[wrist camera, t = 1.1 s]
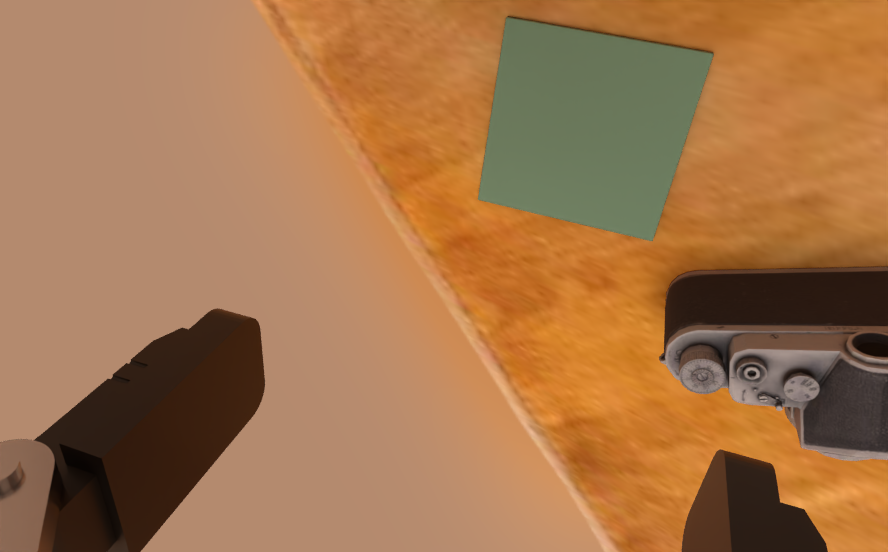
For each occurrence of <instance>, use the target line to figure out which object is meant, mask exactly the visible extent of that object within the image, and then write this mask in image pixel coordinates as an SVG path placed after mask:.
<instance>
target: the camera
mask: <svg viewBox="0 0 888 552" xmlns="http://www.w3.org/2000/svg"><path fill="white" fill-rule="evenodd" d="M659 360H660V362H661V363H663V364H665V365H667V368H668V369H669V370H670V372H671V373H672V374H673V376H674V377H675V378H676V379H678V380H680V381H681V383H682V385H683V386H684V387H685V388H687V389H688V390H690V391H692V392H695V393H699V394H709V393H713V392H715V391H717V390H719V389H720V388H729V392H730V394H731V396H732V398H733V400H734V401H736V402H738V403H744V404H749V405H763V406H775V407H776V409H777V410H778V411H781V410H782V409H783V408H782V407H785V413H786V415H787V418H788V419H789V421H790V422H791V423H792V424H793V426H794V427H795V428H796V429H797V433H798V437H799V441H800V445H801V448H803V449H808V450H815V451H817V452H819V453H821V454H823V455H825V456H829V457H832V458H836V459H840V460H849V461H859V460H866V459H885V460H888V267H848V268H798V269H749V270H700V271H691V272H687V273H684V274H682V275H680V276H678V277H677V278H676V279H675V280H674V281H672V282H671V284H670V287H669V289H668V291H667V293H666V306H665V336H664V353H663V354H662V355H661V356H660V357H659Z"/></svg>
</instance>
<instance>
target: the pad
mask: <svg viewBox="0 0 888 552" xmlns="http://www.w3.org/2000/svg"><path fill="white" fill-rule="evenodd" d="M713 55H714V53H712V52H707V51H701V50H695V49H690V48H684V47H678V46H673V45H667V44H662V43H656V42H650V41H645V40H639V39H633V38H628V37H622V36H616V35H611V34H605V33H599V32H594V31H588V30H582V29H577V28H571V27H565V26H560V25H554V24H548V23H543V22H537V21H531V20H526V19H520V18H514V17H509V16H508V17H506V23H505V29H504V35H503V42H502V48H501V55H500V61H499V68H498V74H497V80H496V87H495V93H494V100H493V106H492V112H491V119H490V125H489V132H488V138H487V144H486V151H485V157H484V164H483V170H482V177H481V183H480V189H479V196H478V200H481V201H485V202H490V203H494V204H498V205H502V206H506V207H511V208H515V209H519V210H523V211H527V212H532V213H536V214H540V215H544V216H548V217H553V218H557V219H561V220H565V221H569V222H574V223H578V224H582V225H586V226H590V227H595V228H599V229H603V230H607V231H611V232H616V233H620V234H624V235H628V236H632V237H637V238H641V239H645V240H649V241H653V238H654V235H655V232H656V229H657V226H658V223H659V220H660V217H661V214H662V211H663V208H664V205H665V202H666V199H667V195H668V192H669V189H670V186H671V183H672V180H673V177H674V174H675V171H676V168H677V165H678V162H679V159H680V156H681V153H682V150H683V147H684V144H685V140H686V137H687V134H688V131H689V128H690V125H691V122H692V119H693V116H694V113H695V110H696V107H697V104H698V101H699V98H700V95H701V92H702V88H703V85H704V82H705V79H706V76H707V73H708V70H709V67H710V64H711V61H712V58H713Z"/></svg>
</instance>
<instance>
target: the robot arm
mask: <svg viewBox="0 0 888 552" xmlns="http://www.w3.org/2000/svg"><path fill="white" fill-rule="evenodd" d="M264 387H265V378H264V366H263V355H262V344H261V332H260V326H259V323H258V321H257V320H256V319H254V318H251V317H247V316H243V315H240V314H236V313H233V312H229V311H225V310H222V309H213V310H211V311H210V312H208V313H207V314H206V315H205V316H204V317H203V318H201V319H200V320H199V321H198V322H197V323H196V324H195V325H193V326H192V327H191V328H190V329H189V330H188V329H185V328H181V329H178V330H176V331H174V332H172V333H170V334H167V335H165V336H163V337H161V338H159V339H156V340H154V341H153V342H151V343H150V344H149V345H148V346H146V347H145V348H144V349H143V350H142V351H141V352H139V353H138V354H137V355H136V356H135V357H133V358H132V359H131V362H130V364H127V363H126V364H125V365H124V366H123V367H121V368H120V369H119V370H118V371H117V372H115V373H114V374H113V377H112V379H107V380H106V381H105V382H104V383H102V384H101V385H100V386H99V387H97V388H96V389H95V390H94V391H93V392H91V393H90V394H89V395H88V396H87V397H86V398H84V399H83V400H82V401H81V402H80V403H78V404H77V405H76V406H75V407H74V408H72V409H71V410H70V411H69V412H68V413H66V414H65V415H64V416H63V417H62V418H60V419H59V420H58V421H57V422H56V423H54V424H53V425H52V426H51V427H50V428H48V429H47V430H46V431H45V432H44V433H43V434H41V435H40V436H39V437H37V438H36V439H35V440H28V439H16V440H8V441H3V442H0V552H140V551H141V550H142V549H143V548H144V547H145V545H146V544H147V543H148V542H149V541H150V539H151V538H152V537H153V536H154V535H155V533H156V532H157V531H158V530H159V529H160V527H161V526H162V525H163V524H164V523H165V521H166V520H167V519H168V518H169V517H170V515H171V514H172V513H173V512H174V511H175V509H176V508H177V507H178V506H179V504H180V503H181V502H182V501H183V499H184V498H185V497H186V496H187V495H188V494H189V492H190V491H191V490H192V489H193V488H194V486H195V485H196V484H197V483H198V482H199V480H200V479H201V478H202V477H203V476H204V474H205V473H206V472H207V471H208V469H209V468H210V467H211V466H212V465H213V464H214V462H215V461H216V460H217V459H218V457H219V456H220V455H221V454H222V453H223V452H224V450H225V449H226V448H227V447H228V445H229V444H230V443H231V442H232V441H233V439H234V438H235V437H236V436H237V435H238V433H239V432H240V431H241V430H242V429H243V427H244V426H245V425H246V424H247V422H248V421H249V420H250V419H251V418H252V417H253V415H254V414H255V412H256V411H257V409H258V407H259V405H260V402H261V400H262V397H263V393H264ZM682 552H828V551H827V546H826V543H825V541H824V540H823V538H822V537H821V535H820V533H819V532H818V530H817V529H816V527H815V526H814V524H813V523H812V521H811V519H810V518H809V516H808V515H807V513H806V512H805V510H804V509H801V508H798V507H794V506H791V505H787V504H784V503H780V499H779V492H778V486H777V480H776V474H775V470H774V467H773V465H772V464H770V463H767V462H764V461H760V460H757V459H753V458H749V457H746V456H742V455H739V454H735V453H731V452H728V451H724V450H718V451H717V452H716V454H715V456H714V458H713V460H712V462H711V464H710V466H709V469H708V471H707V473H706V475H705V478H704V480H703V482H702V485H701V487H700V489H699V491H698V494H697V496H696V498H695V500H694V503H693V505H692V507H691V509H690V512H689V514H688V517H687V521H686V525H685V529H684V535H683V542H682Z"/></svg>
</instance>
